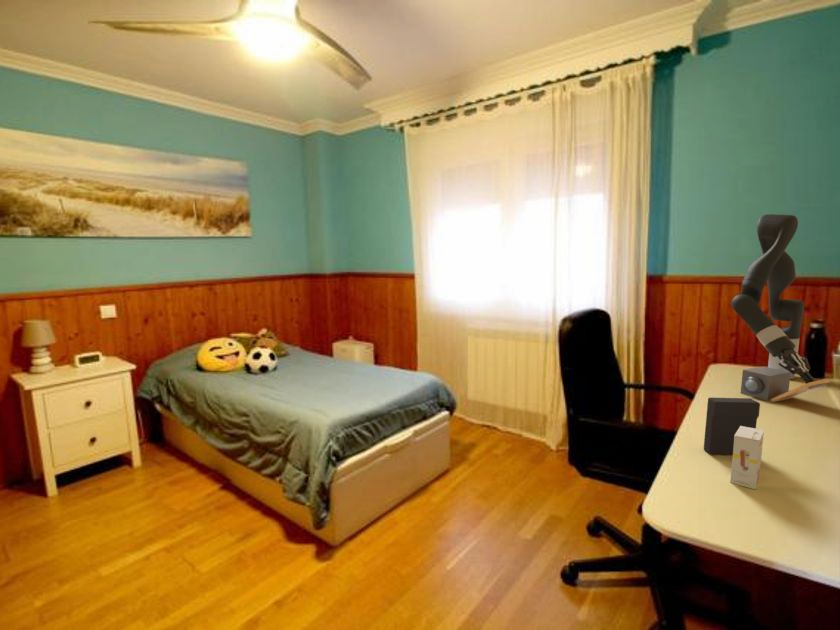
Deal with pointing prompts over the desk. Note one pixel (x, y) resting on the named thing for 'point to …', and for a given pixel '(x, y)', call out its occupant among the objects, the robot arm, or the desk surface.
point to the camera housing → (765, 382)
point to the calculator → (727, 422)
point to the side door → (801, 390)
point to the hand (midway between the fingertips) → (812, 383)
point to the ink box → (747, 456)
